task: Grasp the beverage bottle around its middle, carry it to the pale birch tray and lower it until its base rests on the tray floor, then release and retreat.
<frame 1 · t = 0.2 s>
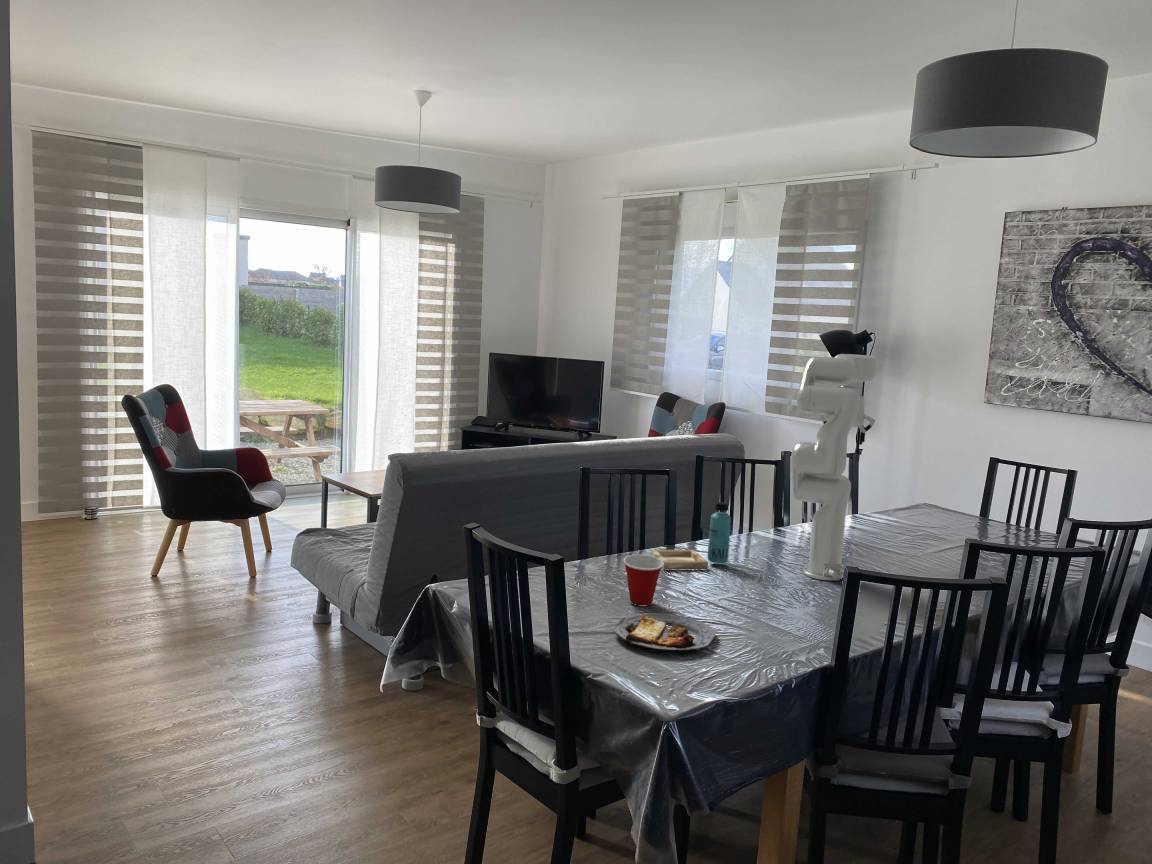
hand: (845, 442, 297), 37 cm above the table, tool pointing down, fingers open, 9 cm apart
food plate: (664, 639, 215), on the table
tray: (678, 563, 278), on the table
plastic cup: (641, 604, 239), on the table
beverage bottle: (717, 565, 279), on the table
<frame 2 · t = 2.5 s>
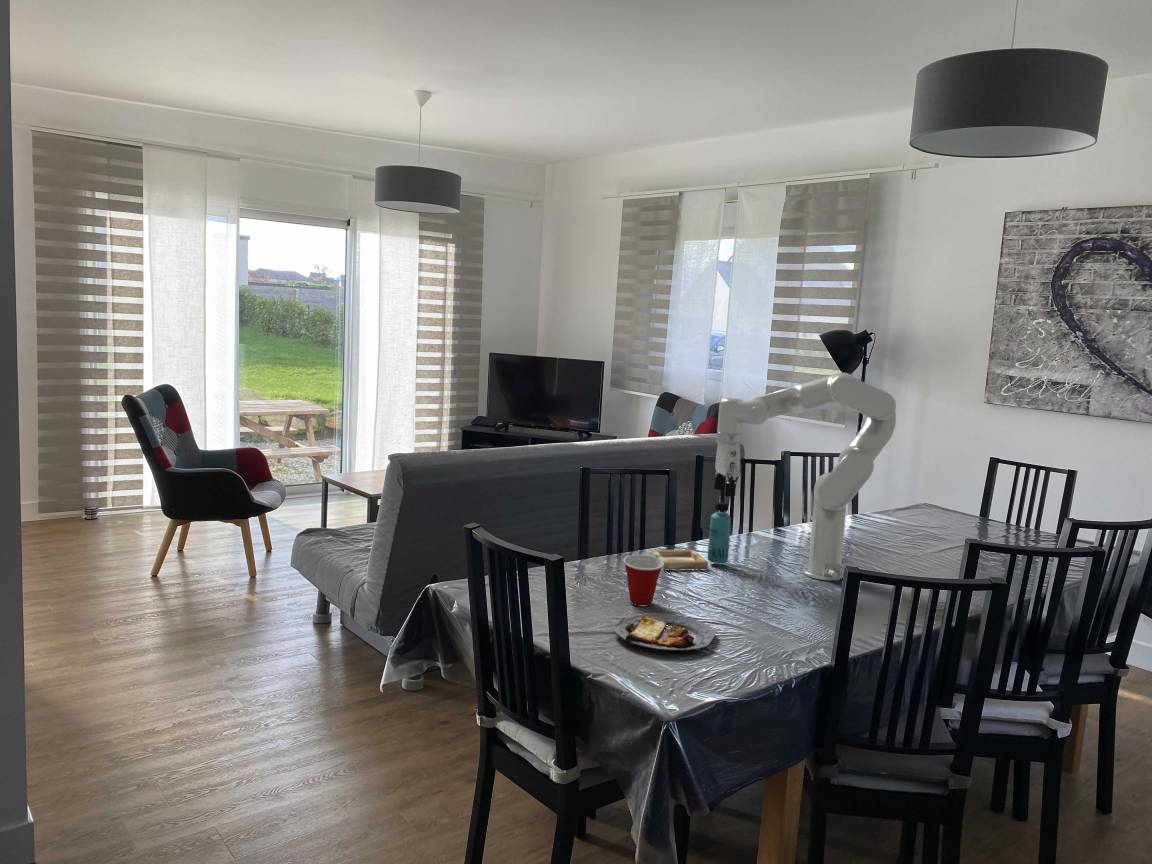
hand: (724, 492, 276), 23 cm above the table, tool pointing down, fingers open, 9 cm apart
nothing on the table moved.
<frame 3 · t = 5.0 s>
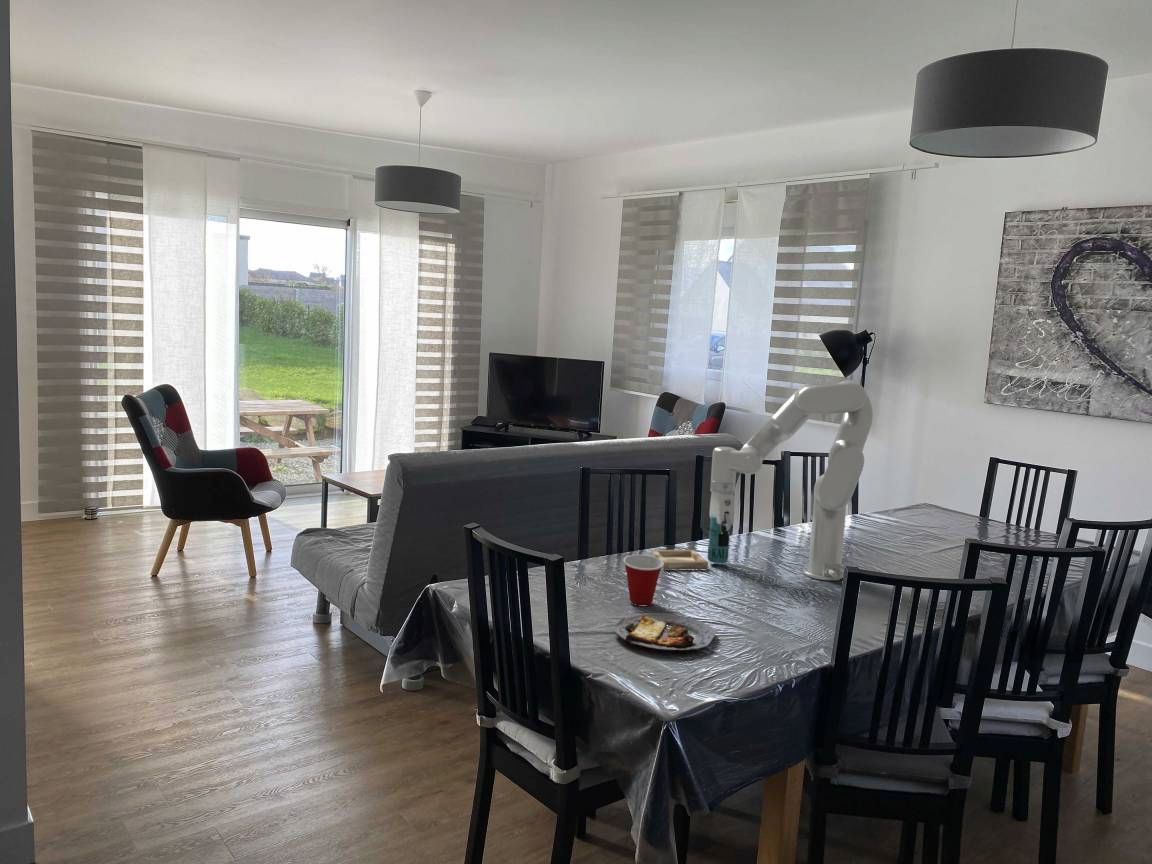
hand: (718, 542, 278), 7 cm above the table, tool pointing down, fingers closed on beverage bottle, 6 cm apart
beverage bottle: (717, 565, 279), on the table, touching gripper
everything else where it was.
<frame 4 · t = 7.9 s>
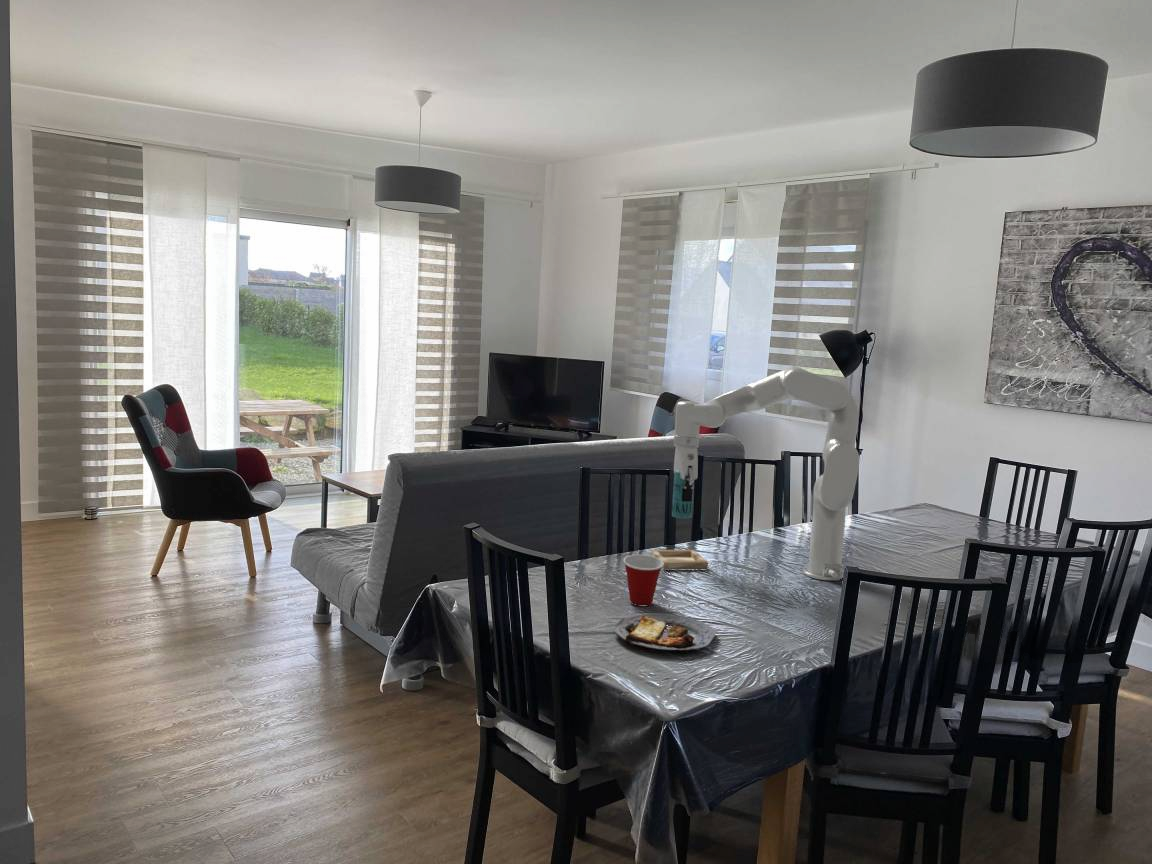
hand: (683, 498, 275), 21 cm above the table, tool pointing down, fingers closed on beverage bottle, 6 cm apart
beverage bottle: (681, 521, 276), point 14 cm above the table, touching gripper
everything else where it was.
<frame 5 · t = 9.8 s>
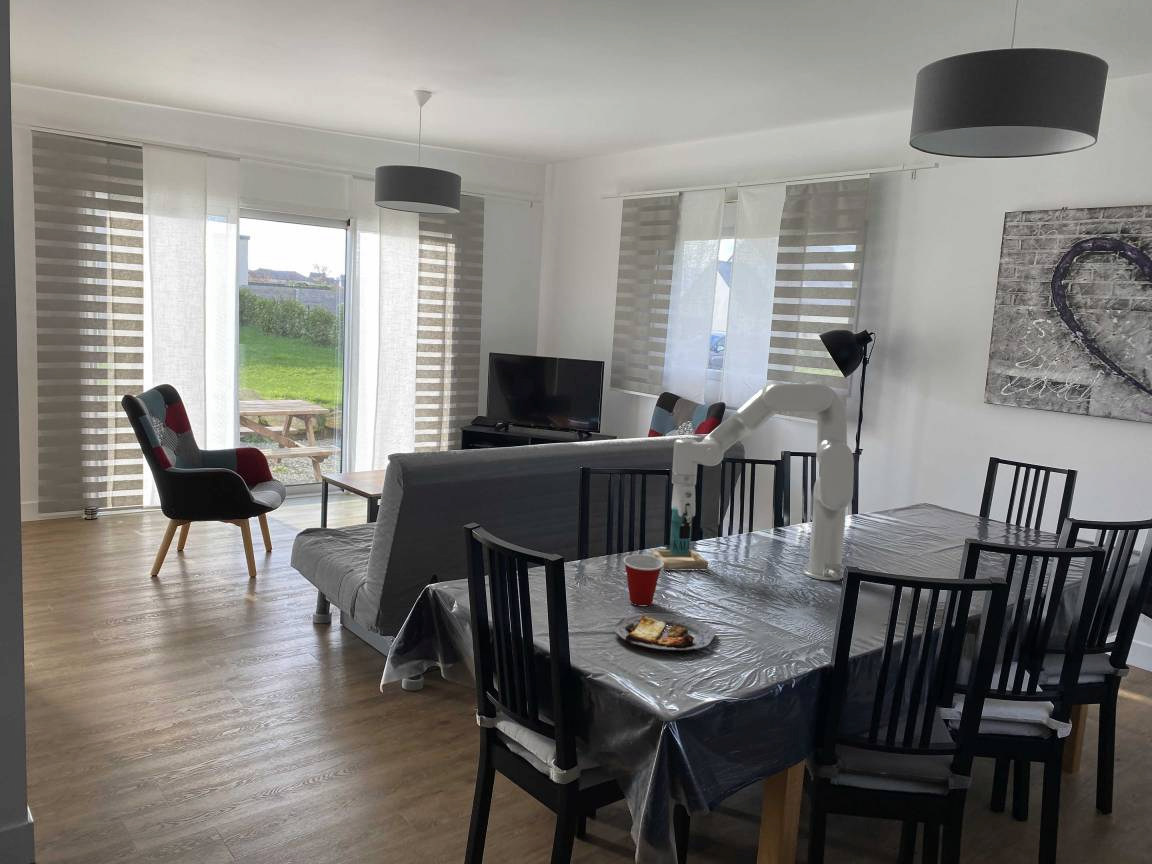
hand: (680, 534, 277), 9 cm above the table, tool pointing down, fingers closed on beverage bottle, 6 cm apart
beverage bottle: (679, 557, 278), point 2 cm above the table, touching gripper
everything else where it was.
when the fingers open (8 cm above the table, at t = 11.0 s): beverage bottle stays where it is, resting on tray.
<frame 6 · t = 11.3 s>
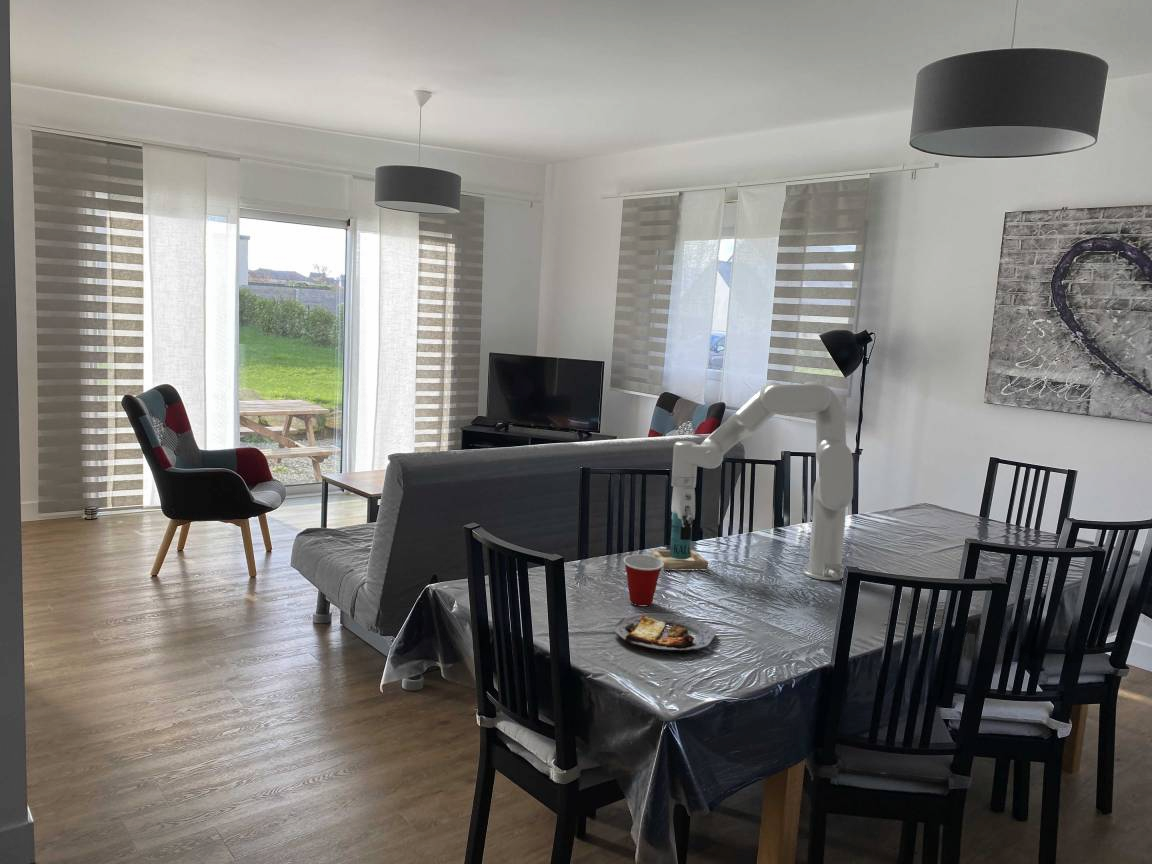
hand: (680, 535, 277), 9 cm above the table, tool pointing down, fingers open, 9 cm apart
beverage bottle: (679, 562, 278), point 1 cm above the table, touching tray
everything else where it was.
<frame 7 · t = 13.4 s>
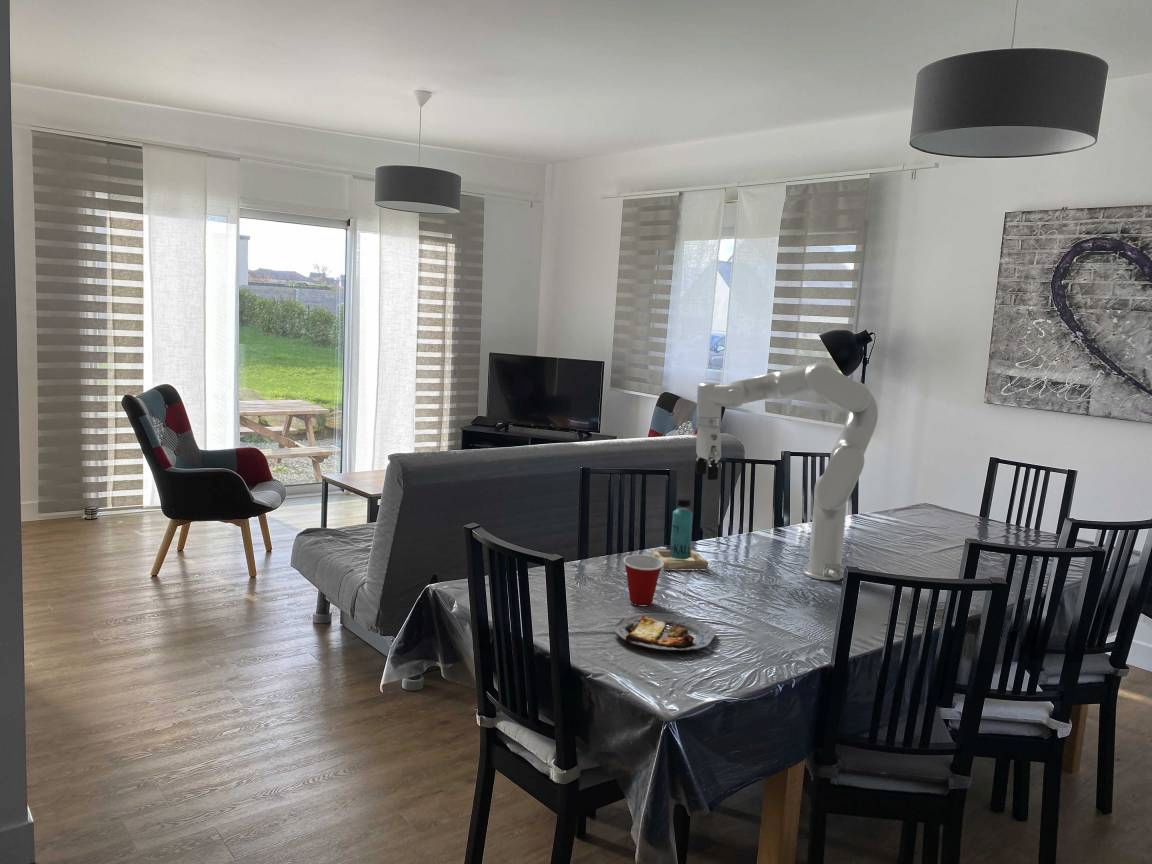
hand: (706, 476, 278), 27 cm above the table, tool pointing down, fingers open, 9 cm apart
nothing on the table moved.
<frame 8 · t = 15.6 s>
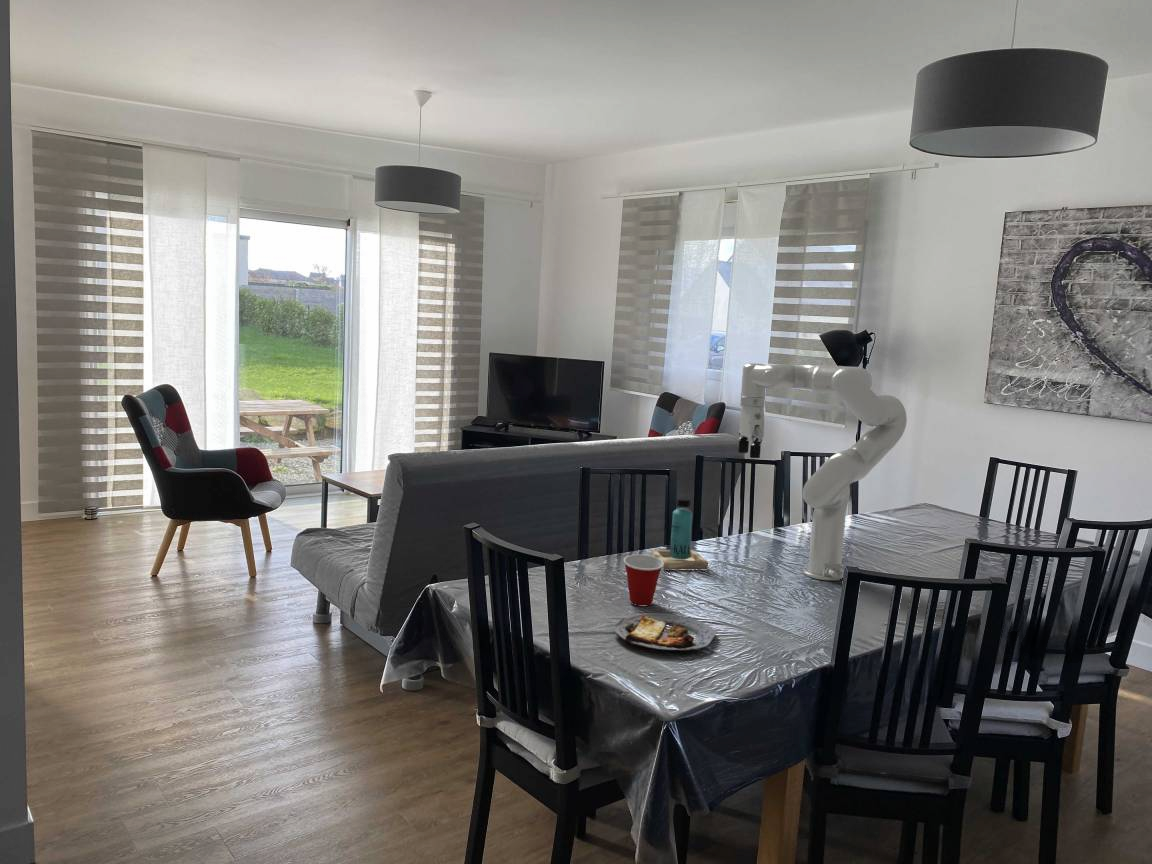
hand: (748, 455, 286), 33 cm above the table, tool pointing down, fingers open, 9 cm apart
nothing on the table moved.
at the end: beverage bottle inside the target area on the tray (0.2 cm from its centre), point 0.6 cm above the tray's base; beverage bottle tilted 0°; the gripper is holding nothing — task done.
